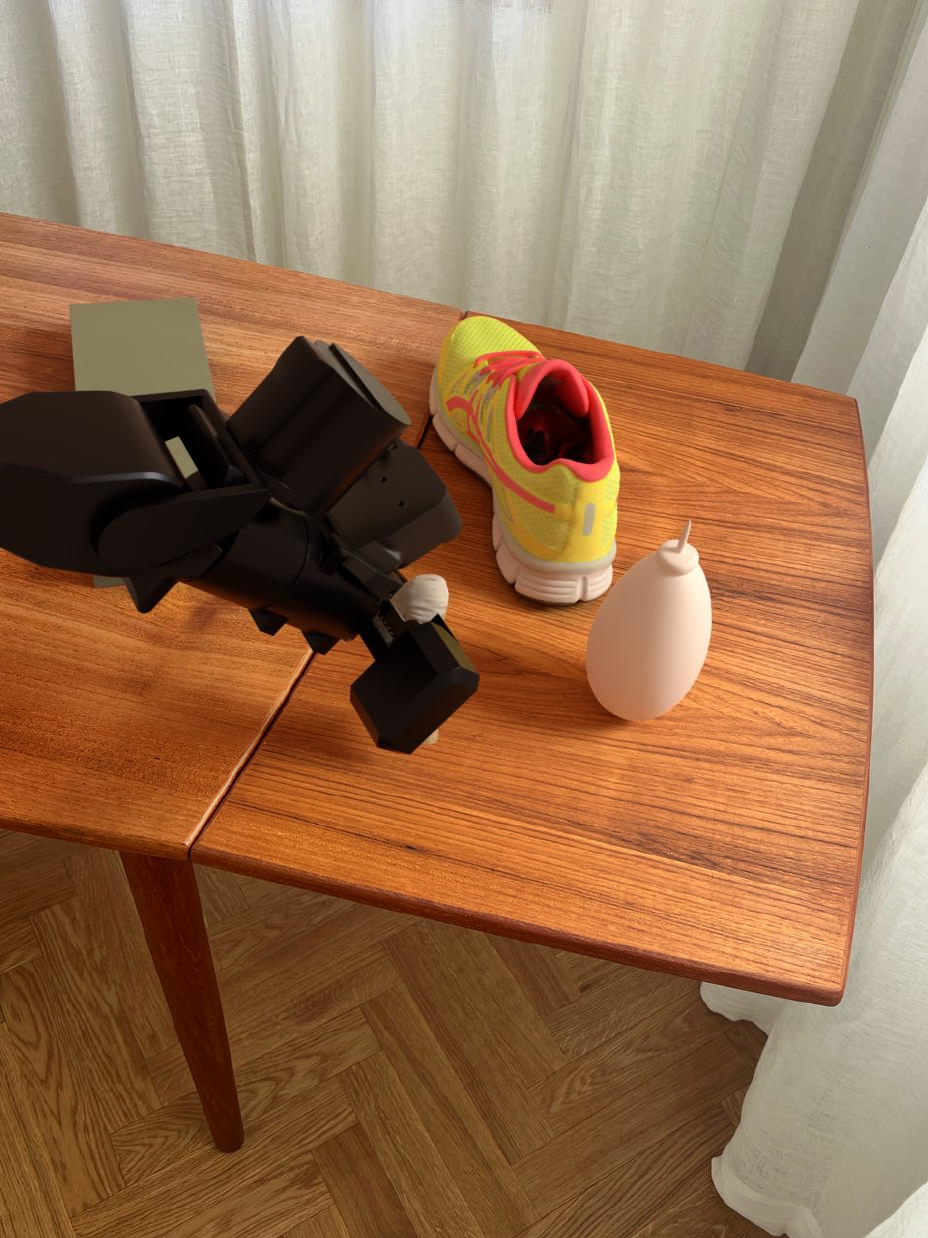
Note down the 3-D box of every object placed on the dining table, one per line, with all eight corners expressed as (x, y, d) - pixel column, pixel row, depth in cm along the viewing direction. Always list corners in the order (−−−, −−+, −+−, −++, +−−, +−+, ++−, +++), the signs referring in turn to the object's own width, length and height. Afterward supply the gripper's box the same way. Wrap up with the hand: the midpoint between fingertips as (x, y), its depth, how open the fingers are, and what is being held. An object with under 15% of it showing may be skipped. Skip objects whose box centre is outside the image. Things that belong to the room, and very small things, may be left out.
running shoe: (528, 365, 107) (552, 227, 96) (664, 600, 87) (713, 460, 77) (405, 378, 103) (415, 237, 93) (518, 625, 84) (548, 483, 73)
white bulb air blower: (605, 645, 83) (660, 460, 70) (698, 695, 81) (774, 514, 68) (553, 711, 79) (602, 526, 65) (650, 767, 76) (722, 587, 63)
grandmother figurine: (464, 745, 72) (492, 615, 62) (413, 768, 70) (433, 639, 61) (403, 662, 76) (421, 528, 66) (354, 682, 74) (364, 548, 64)
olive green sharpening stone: (246, 575, 84) (243, 535, 81) (95, 593, 82) (86, 552, 79) (198, 334, 104) (194, 294, 101) (76, 342, 102) (68, 301, 99)
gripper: (466, 565, 49) (618, 651, 61) (296, 334, 59) (455, 449, 71) (299, 732, 51) (477, 782, 64) (163, 483, 61) (340, 569, 74)
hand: (437, 634), depth 68 cm, fingers closed on grandmother figurine, 6 cm apart
